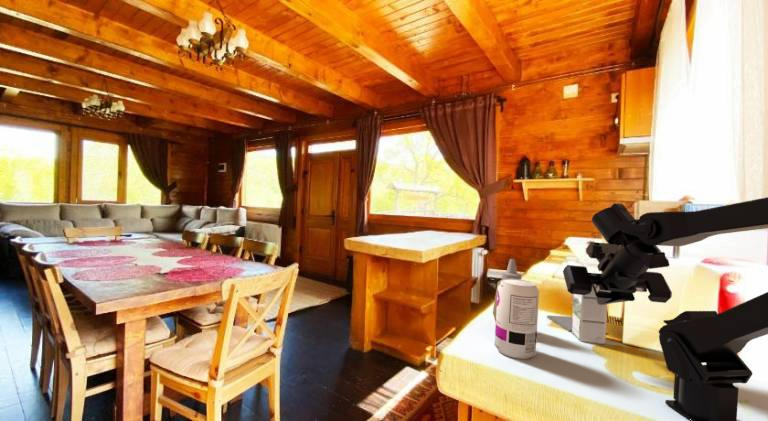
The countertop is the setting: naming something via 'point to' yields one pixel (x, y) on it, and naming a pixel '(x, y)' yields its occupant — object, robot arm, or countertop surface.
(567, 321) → the slate mat
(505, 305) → the supplement can
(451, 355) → the countertop surface
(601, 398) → the countertop surface
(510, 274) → the squeeze bottle
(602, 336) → the syrup box
